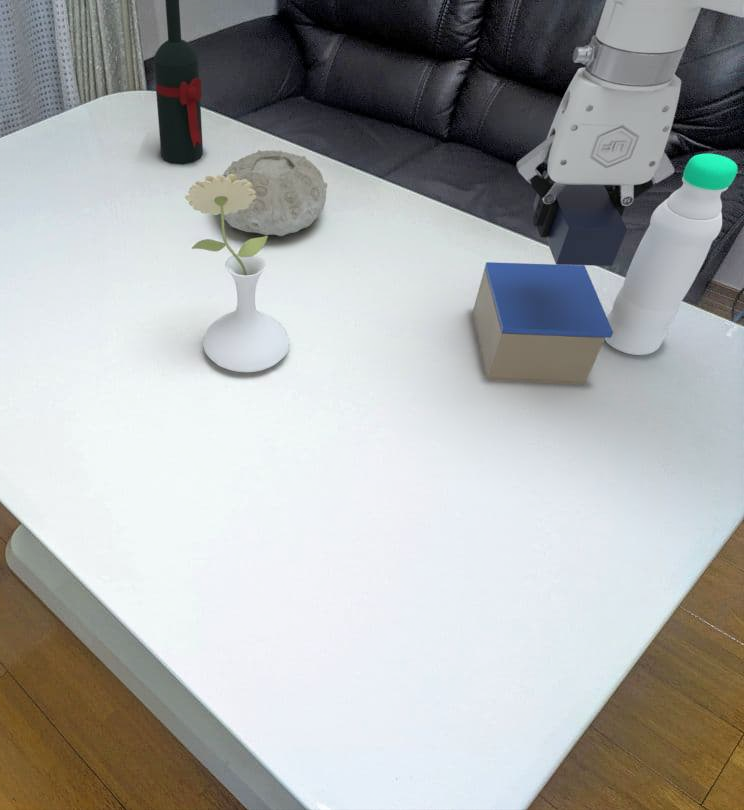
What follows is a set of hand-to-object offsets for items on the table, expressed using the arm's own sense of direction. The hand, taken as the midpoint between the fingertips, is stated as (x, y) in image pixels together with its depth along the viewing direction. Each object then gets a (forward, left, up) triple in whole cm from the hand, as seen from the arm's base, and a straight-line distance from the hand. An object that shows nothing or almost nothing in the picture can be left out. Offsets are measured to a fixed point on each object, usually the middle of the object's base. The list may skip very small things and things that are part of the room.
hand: (571, 230), depth 80 cm
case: (0, 0, -1) cm, 1 cm away
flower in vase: (+37, 0, -20) cm, 41 cm away
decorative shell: (+35, -33, -20) cm, 51 cm away
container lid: (-1, -3, -12) cm, 12 cm away
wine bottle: (+52, -54, -20) cm, 77 cm away
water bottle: (-14, -5, -20) cm, 25 cm away
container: (0, -3, -19) cm, 20 cm away
